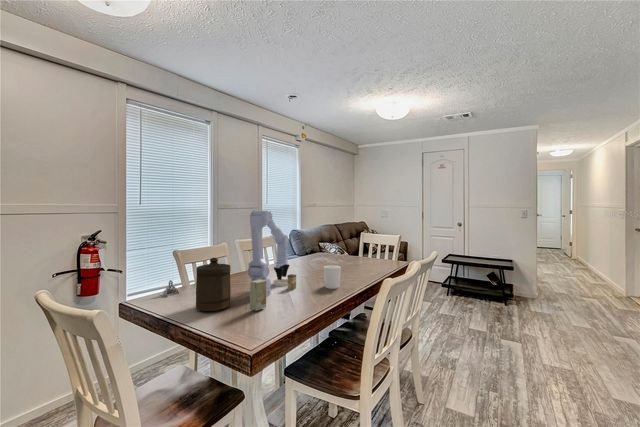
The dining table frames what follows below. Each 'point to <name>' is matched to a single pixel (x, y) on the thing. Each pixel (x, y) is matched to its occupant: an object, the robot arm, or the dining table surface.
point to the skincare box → (257, 294)
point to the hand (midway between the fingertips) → (281, 278)
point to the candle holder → (332, 276)
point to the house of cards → (170, 290)
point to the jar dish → (280, 282)
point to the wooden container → (213, 286)
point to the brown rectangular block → (291, 281)
